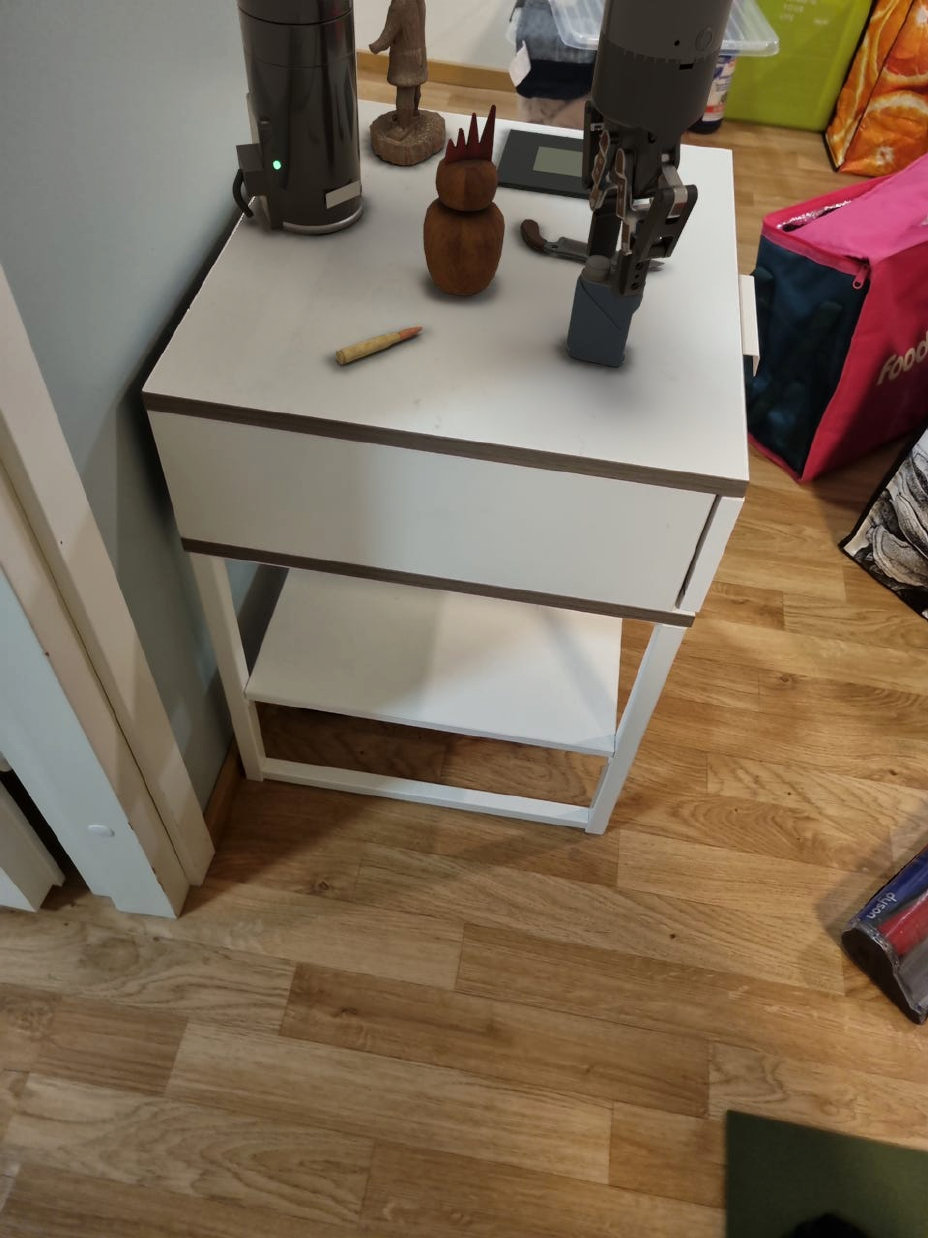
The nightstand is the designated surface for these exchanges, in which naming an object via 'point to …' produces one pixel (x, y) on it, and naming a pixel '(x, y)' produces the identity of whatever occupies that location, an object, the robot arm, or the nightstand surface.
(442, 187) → the wooden figurine
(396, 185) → the nightstand surface
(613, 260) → the knife
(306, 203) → the robot arm
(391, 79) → the figurine
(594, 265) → the vaping device
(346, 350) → the bullet
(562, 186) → the mat
